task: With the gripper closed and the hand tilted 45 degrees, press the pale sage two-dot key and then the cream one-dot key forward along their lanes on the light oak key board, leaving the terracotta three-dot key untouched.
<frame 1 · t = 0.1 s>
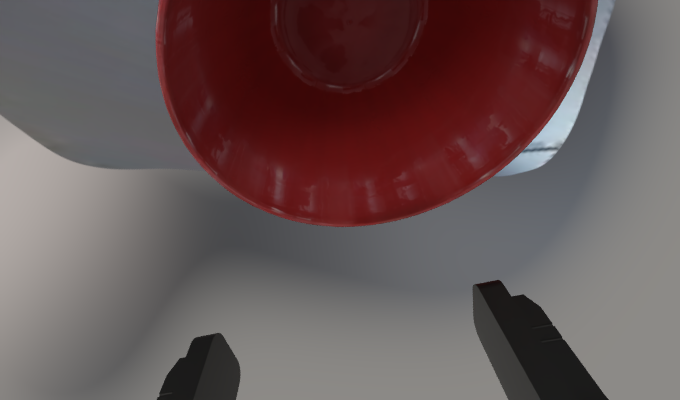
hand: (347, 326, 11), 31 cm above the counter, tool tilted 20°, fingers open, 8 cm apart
mixing bowl: (348, 15, 34), on the counter
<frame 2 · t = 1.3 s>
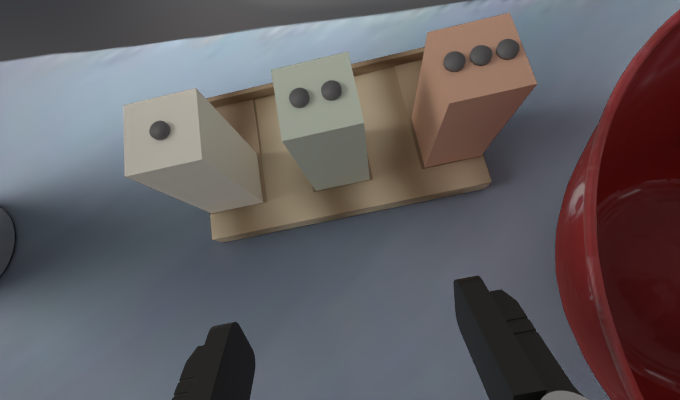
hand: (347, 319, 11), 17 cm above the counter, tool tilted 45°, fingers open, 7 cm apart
key 3: (459, 104, 23), point 7 cm above the counter, slide at 0.0 cm
key 2: (328, 133, 23), point 7 cm above the counter, slide at 0.0 cm
key 1: (204, 161, 24), point 7 cm above the counter, slide at 0.0 cm
mixing bowl: (672, 280, 25), on the counter
key board: (337, 150, 31), on the counter
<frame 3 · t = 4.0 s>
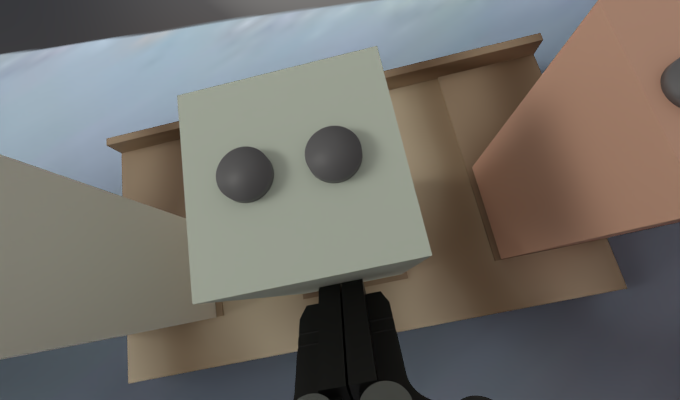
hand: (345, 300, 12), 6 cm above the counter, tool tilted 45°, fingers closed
key 3: (604, 162, 11), point 7 cm above the counter, slide at 0.0 cm
key 2: (328, 215, 11), point 7 cm above the counter, slide at 0.2 cm, touching gripper
key 1: (82, 276, 12), point 7 cm above the counter, slide at 0.0 cm
key board: (343, 215, 19), on the counter
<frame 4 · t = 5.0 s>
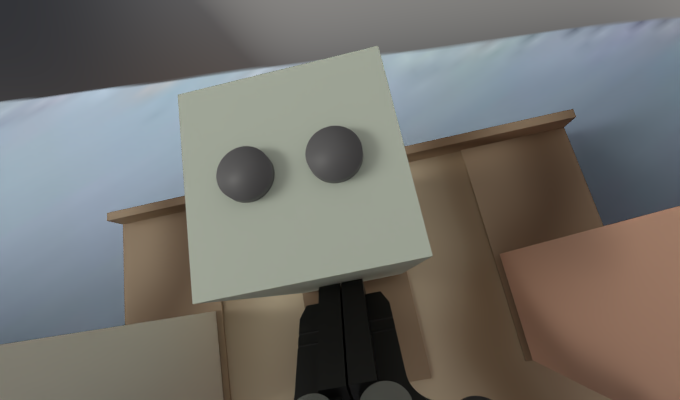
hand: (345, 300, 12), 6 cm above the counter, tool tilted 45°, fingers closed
key 3: (663, 300, 10), point 7 cm above the counter, slide at 0.0 cm
key 2: (328, 215, 11), point 7 cm above the counter, slide at 4.5 cm, touching gripper
key board: (359, 293, 18), on the counter
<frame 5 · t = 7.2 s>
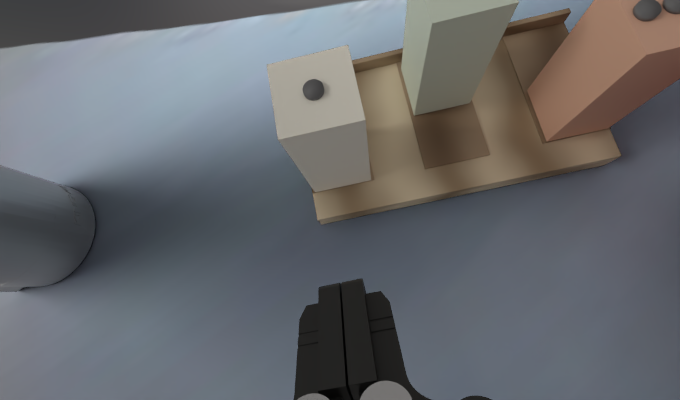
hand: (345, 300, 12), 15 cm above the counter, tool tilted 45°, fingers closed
key 3: (609, 67, 21), point 7 cm above the counter, slide at 0.0 cm
key 2: (446, 42, 23), point 7 cm above the counter, slide at 4.5 cm
key 1: (328, 132, 22), point 7 cm above the counter, slide at 0.0 cm
key board: (439, 127, 29), on the counter
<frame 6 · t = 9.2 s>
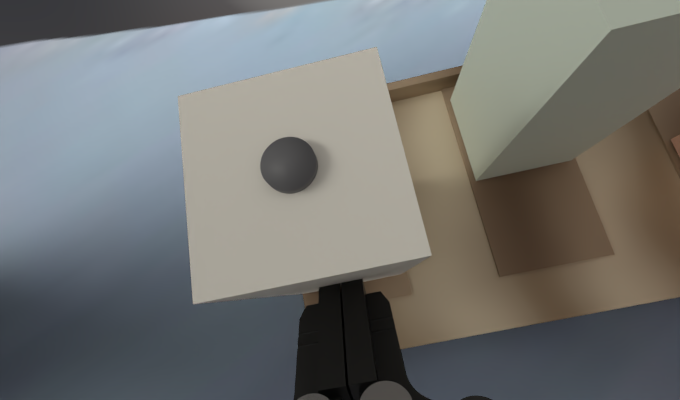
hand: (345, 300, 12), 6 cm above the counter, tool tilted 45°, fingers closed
key 2: (560, 63, 12), point 7 cm above the counter, slide at 4.5 cm
key 1: (328, 215, 11), point 7 cm above the counter, slide at 1.0 cm, touching gripper
key board: (510, 193, 18), on the counter
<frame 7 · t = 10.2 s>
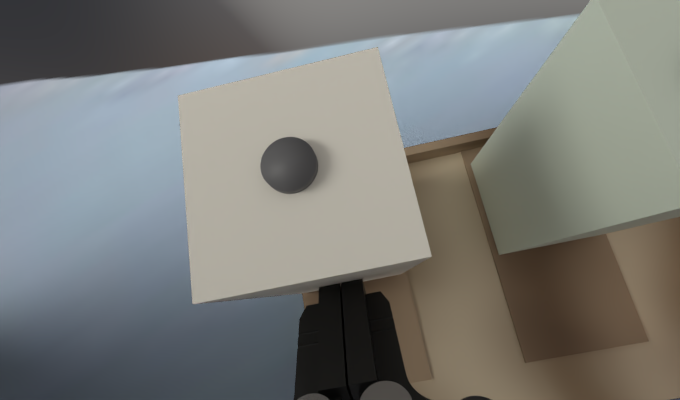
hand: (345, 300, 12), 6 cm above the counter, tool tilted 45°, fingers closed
key 2: (601, 157, 11), point 7 cm above the counter, slide at 4.5 cm
key 1: (328, 215, 11), point 7 cm above the counter, slide at 4.6 cm, touching gripper
key board: (532, 260, 17), on the counter
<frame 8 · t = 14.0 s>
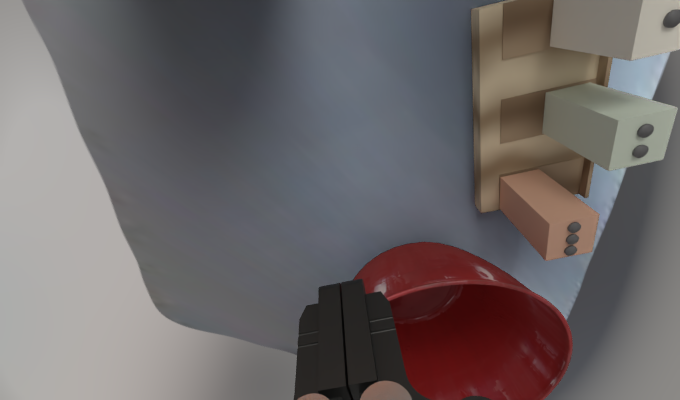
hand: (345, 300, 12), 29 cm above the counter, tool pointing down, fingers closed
key 3: (542, 211, 37), point 7 cm above the counter, slide at 0.0 cm
key 2: (599, 122, 32), point 7 cm above the counter, slide at 4.5 cm
key 1: (617, 16, 27), point 7 cm above the counter, slide at 4.6 cm
mixing bowl: (410, 280, 51), on the counter
key board: (527, 109, 38), on the counter
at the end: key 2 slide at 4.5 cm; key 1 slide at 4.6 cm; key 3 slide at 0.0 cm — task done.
